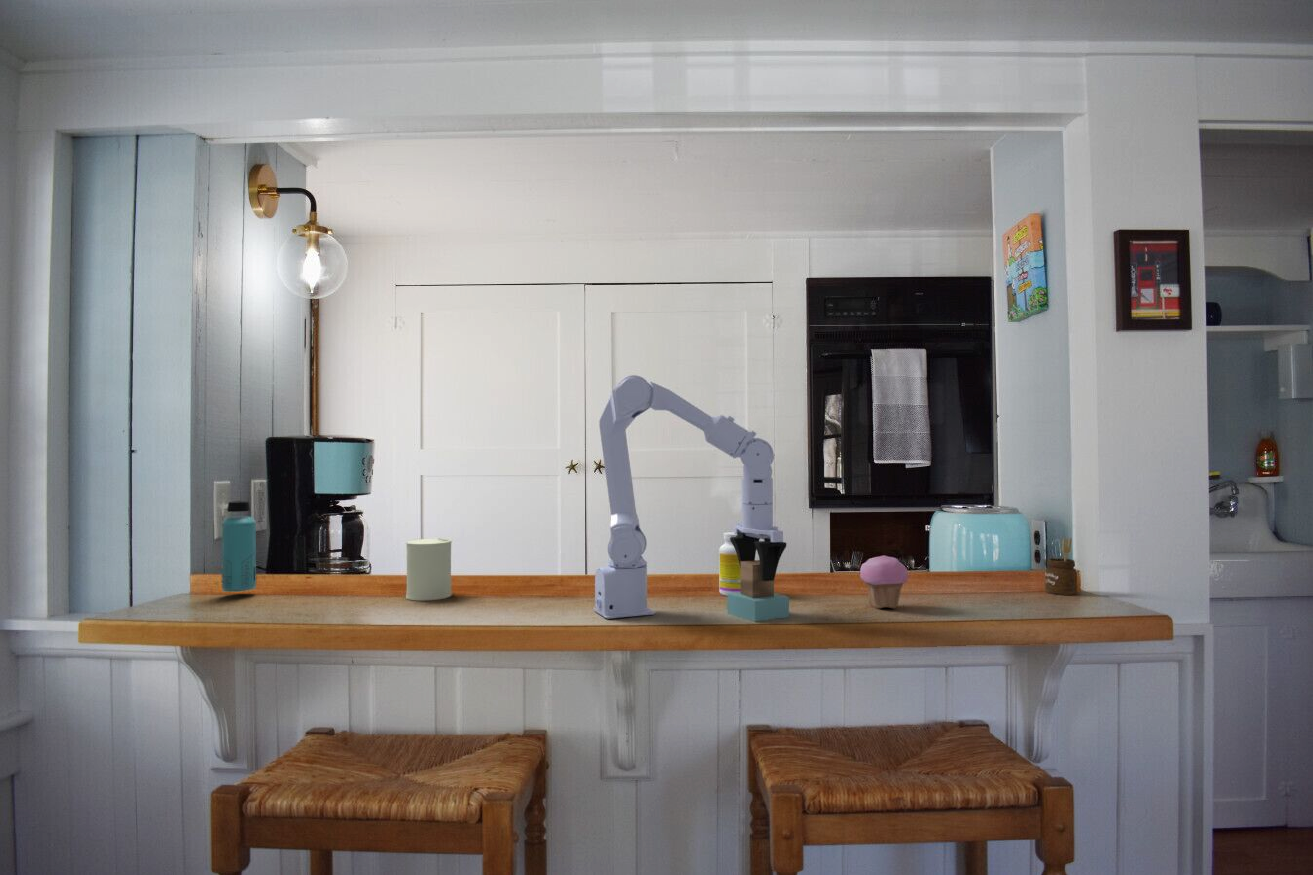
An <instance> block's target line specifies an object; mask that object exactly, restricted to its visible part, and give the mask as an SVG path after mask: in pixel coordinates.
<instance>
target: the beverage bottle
mask: <svg viewBox="0 0 1313 875" xmlns="http://www.w3.org/2000/svg"><path fill="white" fill-rule="evenodd" d="M227 505H228V506H227V512H230V513H231V512H232V513H234V512H236V513H238V512H250V511H251V507H250V501H248V500H247V501H246V500H234V501H229V502H228V503H227ZM256 524H257V522H256V520H255V519H254V518H253V517H252V516H231V517H230V516H229V517H227V518H225V519H224V520H223V522H222V523H221V533H222V534H221V540H222V542H221V544H222V545H221V546H222V547H221V548H220V550H221V558H220V559H221V575H220V576H221V583H220V584H221V588H222V591H223V592H229V593H230V592H236V593H237V592H245V591H250V590H254V589H256V587H257V584H258V583H257V580H258V578H257V559H258V557H257V555H258V554H257V541H256V538H257V537H256V533H257V532H256Z"/></svg>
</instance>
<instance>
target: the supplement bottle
mask: <svg viewBox="0 0 1313 875" xmlns="http://www.w3.org/2000/svg"><path fill="white" fill-rule="evenodd" d="M736 535H737V534H734V531H731V532H730V531H729V532H723V540H724V543H723V544H722V545H720V547H719V548H718V553H719V554H718V555H719V556H718V560H719V562H718V565H719V566H718V567H719V568H718V569H719V570H718V571H719V572H718V573H719V574H718V575H719V576H718V578H719V580H718V582H719V584H718V589H719V590H718V591H719V593H720V595H722V596H726V597H727V594H731V593H738V592H740V580H741V569H740V564H739V560H738V556H737V553H736V551H735V548H734V546H733V544H732V542H731V541H730V537H736Z"/></svg>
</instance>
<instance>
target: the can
mask: <svg viewBox="0 0 1313 875" xmlns="http://www.w3.org/2000/svg"><path fill="white" fill-rule="evenodd" d="M452 541H453V540H451V539H447V538H421V539H412V540H408V541H406V542H405V544H406V593H405V594H406V595H405V599H407V600H409V601H416V602H418V601H420V602H421V601H425V602H426V601H427V602H428V601H437V600H438V601H439V600H443V599H447V598H450V597H452V595H453V593H452Z"/></svg>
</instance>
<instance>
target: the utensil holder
mask: <svg viewBox="0 0 1313 875" xmlns="http://www.w3.org/2000/svg"><path fill="white" fill-rule="evenodd" d="M1057 541H1058V544H1059V546H1061V544H1062V550H1061V549H1059V552H1060V553H1059V554H1060V556H1059V557H1058V556H1057V554H1055V555H1054V553H1053V552H1054V551H1053V550H1052V554H1053V555H1052V556H1055V557H1050V558H1047V559H1046V566H1047V567H1046V568H1045V570H1044V572H1045V573H1044V574H1045V578H1044V582H1045V584H1044V585H1045V591H1046V593H1048V594H1052V595H1056V596H1057V595H1058V596H1073V595H1074V596H1075V595H1077V592H1078V573H1077V569H1076V568H1075V567H1076V561H1075V560H1074V559H1070V558H1067V556H1068V555H1067V554H1069V553H1070V552H1071V548H1072V538H1071V537H1070V538H1069V537H1067V538H1066V537H1063V541H1062V542H1061V540H1060V539H1058V540H1056V539H1055V540H1054V539H1053V541H1052V542H1051V544H1053V542H1054V543H1056V542H1057ZM1060 542H1061V544H1060ZM1054 547H1055V548H1054V550H1055V552H1057V549H1056V548H1057V547H1056V546H1054ZM1061 552H1062V553H1063V554H1061ZM1061 555H1064V556H1062V558H1061ZM1063 557H1064V558H1063Z"/></svg>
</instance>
